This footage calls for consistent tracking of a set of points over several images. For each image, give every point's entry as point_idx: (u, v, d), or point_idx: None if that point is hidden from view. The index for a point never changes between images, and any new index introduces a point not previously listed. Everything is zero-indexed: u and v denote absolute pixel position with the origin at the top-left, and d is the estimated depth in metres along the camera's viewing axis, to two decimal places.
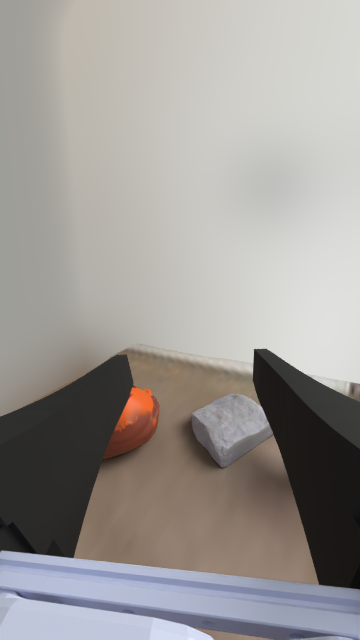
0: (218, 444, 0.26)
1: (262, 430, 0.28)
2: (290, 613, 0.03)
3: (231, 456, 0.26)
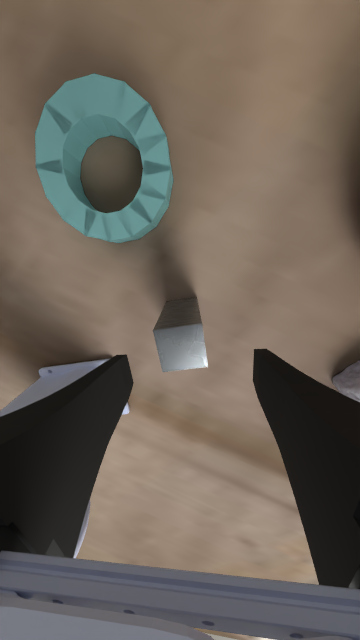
0: None
1: None
2: (290, 613, 0.03)
3: None
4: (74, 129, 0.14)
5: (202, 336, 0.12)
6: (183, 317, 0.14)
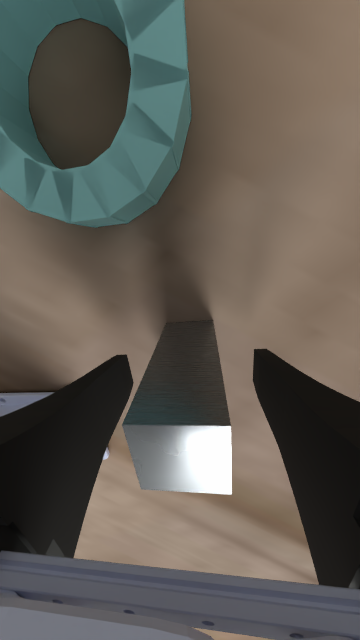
0: None
1: None
2: (290, 613, 0.03)
3: None
4: None
5: (228, 448, 0.06)
6: (190, 383, 0.07)
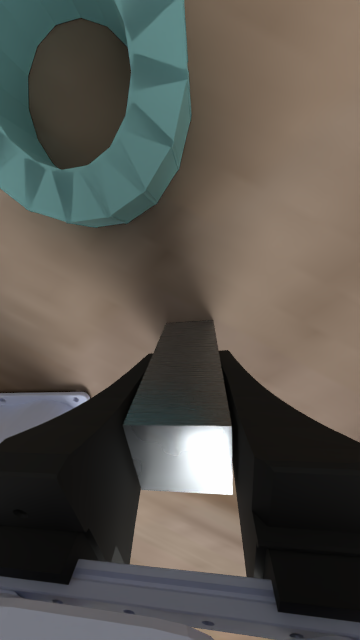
0: None
1: None
2: (290, 613, 0.03)
3: None
4: None
5: (229, 448, 0.06)
6: (191, 383, 0.07)
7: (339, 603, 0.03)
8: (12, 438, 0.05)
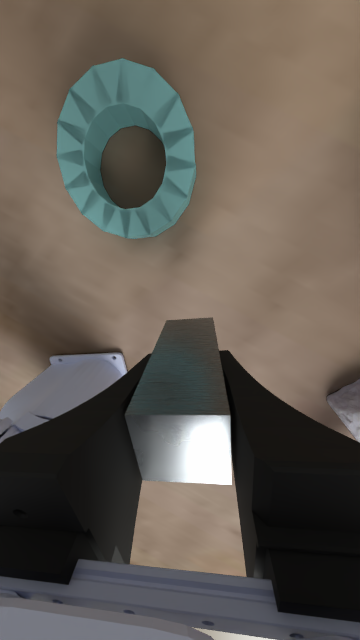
0: (355, 418, 0.19)
1: None
2: (290, 613, 0.03)
3: None
4: (98, 118, 0.13)
5: (228, 437, 0.06)
6: (191, 376, 0.07)
7: (339, 603, 0.03)
8: (12, 439, 0.05)
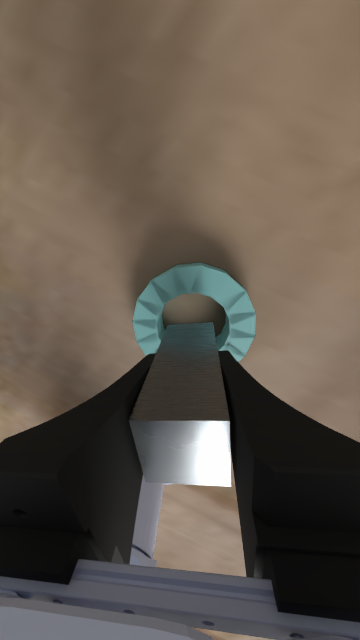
0: None
1: None
2: (290, 613, 0.03)
3: None
4: None
5: (227, 442, 0.06)
6: (192, 382, 0.08)
7: (339, 603, 0.03)
8: (12, 438, 0.05)
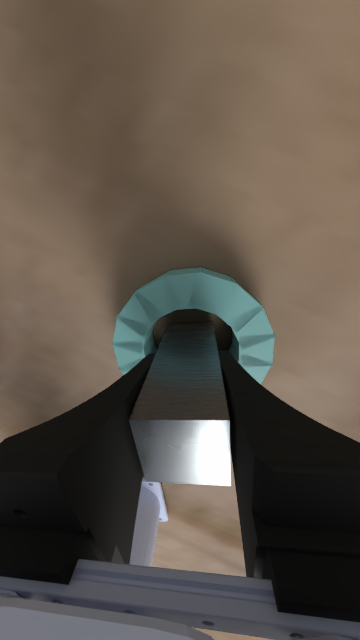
0: None
1: None
2: (290, 613, 0.03)
3: None
4: None
5: (227, 441, 0.06)
6: (192, 381, 0.08)
7: (339, 603, 0.03)
8: (12, 438, 0.05)
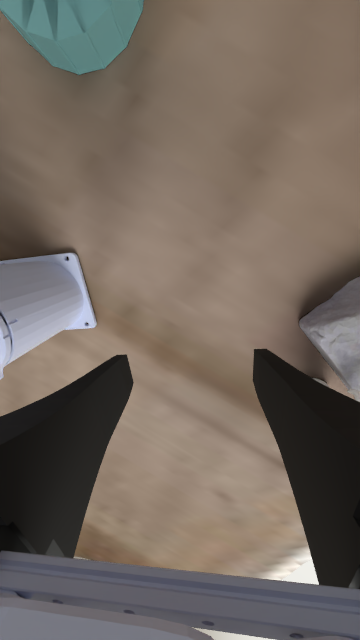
0: (326, 330, 0.16)
1: (350, 386, 0.18)
2: (290, 613, 0.03)
3: (311, 339, 0.18)
4: None
5: None
6: None
7: None
8: None
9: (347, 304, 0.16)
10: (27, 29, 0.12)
